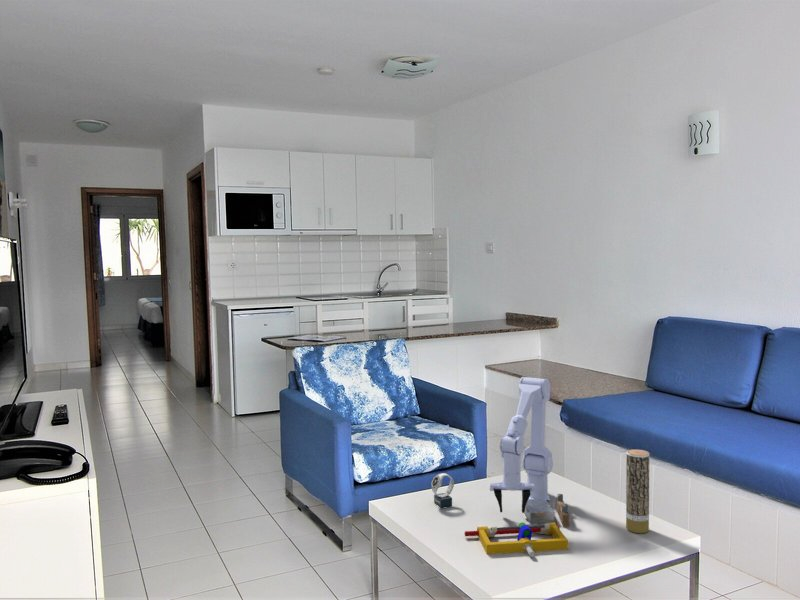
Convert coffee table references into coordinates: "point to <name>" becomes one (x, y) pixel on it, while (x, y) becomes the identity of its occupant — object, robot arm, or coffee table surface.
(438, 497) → the watch
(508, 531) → the mechanical clamp
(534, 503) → the grey metal block
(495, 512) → the coffee table surface
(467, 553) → the coffee table surface
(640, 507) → the brown bark patterned canister
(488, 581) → the coffee table surface
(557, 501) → the bench stop
